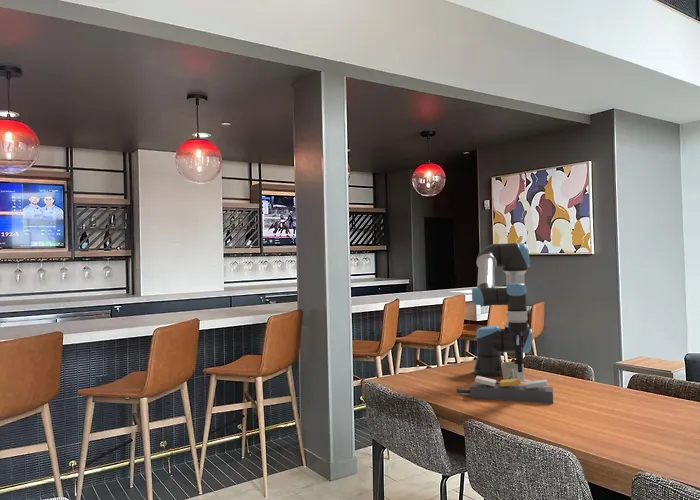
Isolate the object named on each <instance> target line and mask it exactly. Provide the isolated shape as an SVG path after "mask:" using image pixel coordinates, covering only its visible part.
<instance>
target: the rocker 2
mask: <svg viewBox="0 0 700 500" xmlns="http://www.w3.org/2000/svg"><path fill="white" fill-rule="evenodd" d="M499 384H500V387H503V386H513V385H522V380H517V379H507V380H503V379H501V380H500V381H499Z"/></svg>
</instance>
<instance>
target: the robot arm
mask: <svg viewBox="0 0 700 500" xmlns="http://www.w3.org/2000/svg"><path fill="white" fill-rule="evenodd" d="M528 249H529V248H528V245H527V244H526V243H523V242H514V243H513V242H511V243H492V244H489V245H487V246H486V247H484V248H483V249H482V250H481V251H480V252H479V253H478V256H477V258H476V266H477V268H478V269H477V271H478V272H477V283H476V284H477V285H476V287H474V288H472V289H471V302H472V304H473V306H506V308H507V309H506V317H507V322H506V323H505V324H504V328H501V326H500V325H490V326H489V325H488V326H482V327H479V328H477V329H476V337H475V339H476V360H475V364H474V367H473V373H474V374H475V375H476V376H482V377H499V376H503V373H502V367H501V363H502V362H503V360H502V353H506V354H507V353H514V354H515V361H513V362H514V364H516V369H517V380H521V381H524V380H525V371H524V369H525V367H524V364H525V363H526V361H525V360H524V354H528V353H529V352H531V348H532V342H533V329H532V328H530V325H529V323H528V322H527V321H528V309H527V308H528V307H527V306H528V305H527V304H528V303H527V287H526V284H525V274H526V273H527V271H528V268H530V267H531V259H530V255H529V250H528ZM496 268H502V272H503V273H504V274H505V278H506V279H505V283H506V287H495V283H496V282H495V280H496V278H495V276H496V273H495V272H496Z"/></svg>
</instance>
